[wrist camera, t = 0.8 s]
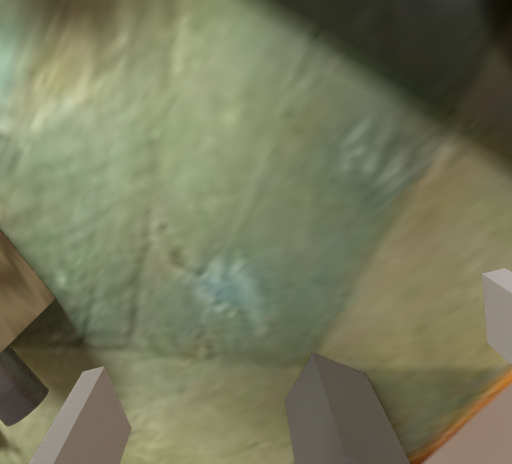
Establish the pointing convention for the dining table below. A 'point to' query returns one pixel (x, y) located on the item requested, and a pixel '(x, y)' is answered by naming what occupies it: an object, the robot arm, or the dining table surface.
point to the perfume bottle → (339, 418)
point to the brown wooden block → (18, 293)
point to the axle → (18, 388)
